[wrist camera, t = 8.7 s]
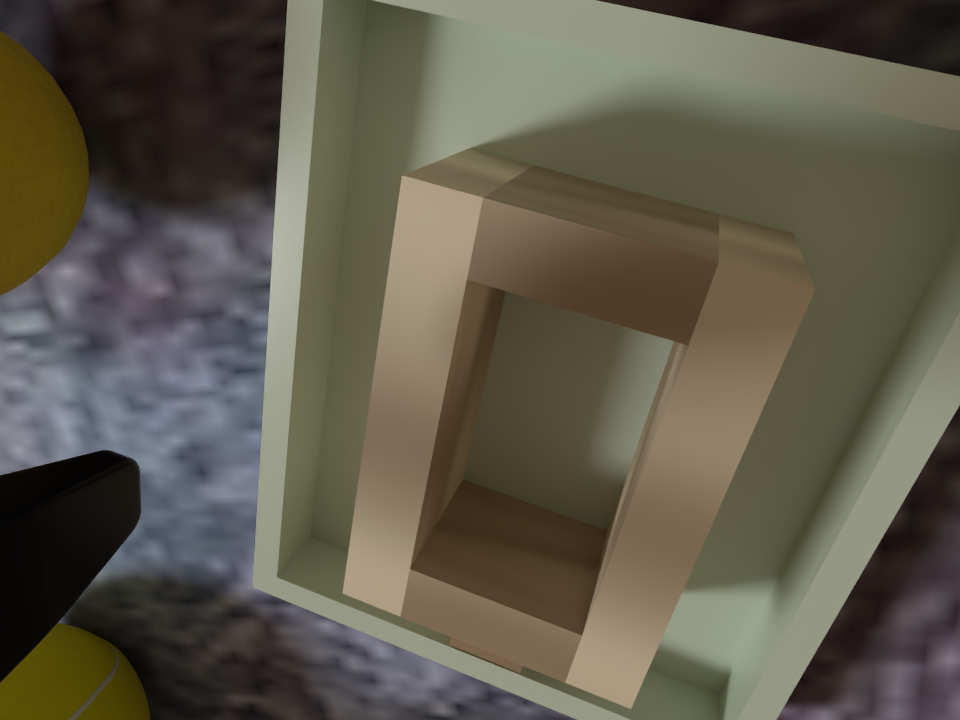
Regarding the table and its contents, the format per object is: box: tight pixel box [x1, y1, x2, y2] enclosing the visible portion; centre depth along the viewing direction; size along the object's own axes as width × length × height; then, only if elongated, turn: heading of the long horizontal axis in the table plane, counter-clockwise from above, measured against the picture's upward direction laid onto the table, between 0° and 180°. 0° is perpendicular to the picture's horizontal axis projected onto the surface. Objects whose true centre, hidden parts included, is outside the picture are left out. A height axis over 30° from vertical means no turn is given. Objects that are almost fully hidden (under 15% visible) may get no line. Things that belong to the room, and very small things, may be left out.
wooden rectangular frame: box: [342, 149, 815, 709], centre depth 13 cm, size 10×6×3 cm, turn 169°
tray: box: [253, 0, 960, 720], centre depth 13 cm, size 13×11×2 cm
